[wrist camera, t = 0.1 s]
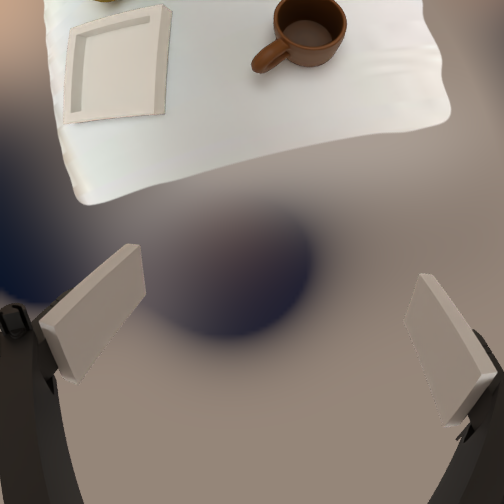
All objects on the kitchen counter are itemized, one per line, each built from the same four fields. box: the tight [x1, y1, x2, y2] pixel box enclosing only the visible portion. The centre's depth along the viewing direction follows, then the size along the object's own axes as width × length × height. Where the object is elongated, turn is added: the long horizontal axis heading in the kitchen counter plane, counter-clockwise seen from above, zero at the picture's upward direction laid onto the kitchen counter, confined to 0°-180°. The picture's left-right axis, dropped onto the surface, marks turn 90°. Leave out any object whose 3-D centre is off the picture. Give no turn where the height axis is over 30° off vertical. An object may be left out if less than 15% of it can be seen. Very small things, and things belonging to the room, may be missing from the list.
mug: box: [251, 0, 347, 74], centre depth 28 cm, size 12×8×9 cm, turn 133°
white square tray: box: [63, 4, 172, 125], centre depth 33 cm, size 16×16×4 cm
